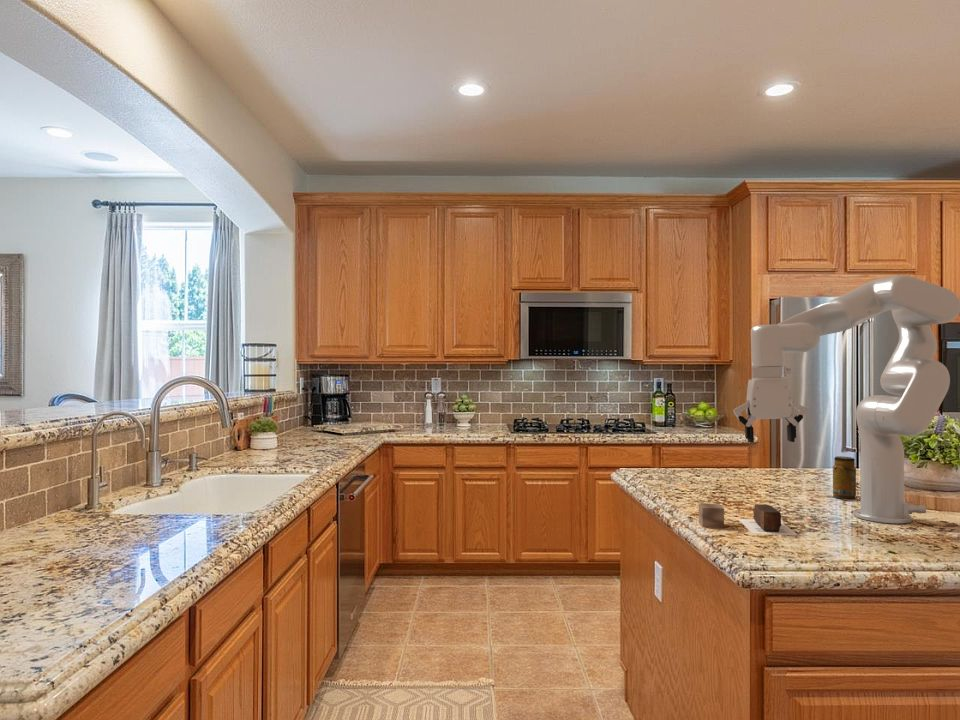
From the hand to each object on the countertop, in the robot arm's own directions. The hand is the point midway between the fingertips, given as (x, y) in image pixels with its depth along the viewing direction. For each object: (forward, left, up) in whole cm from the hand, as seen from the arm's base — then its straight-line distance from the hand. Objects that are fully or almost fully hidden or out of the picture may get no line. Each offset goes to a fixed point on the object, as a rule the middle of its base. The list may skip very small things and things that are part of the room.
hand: (770, 441), depth 159 cm
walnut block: (+16, +6, -20) cm, 26 cm away
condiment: (-30, -35, -21) cm, 51 cm away
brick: (+3, +6, -20) cm, 21 cm away
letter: (+3, +6, -20) cm, 21 cm away
